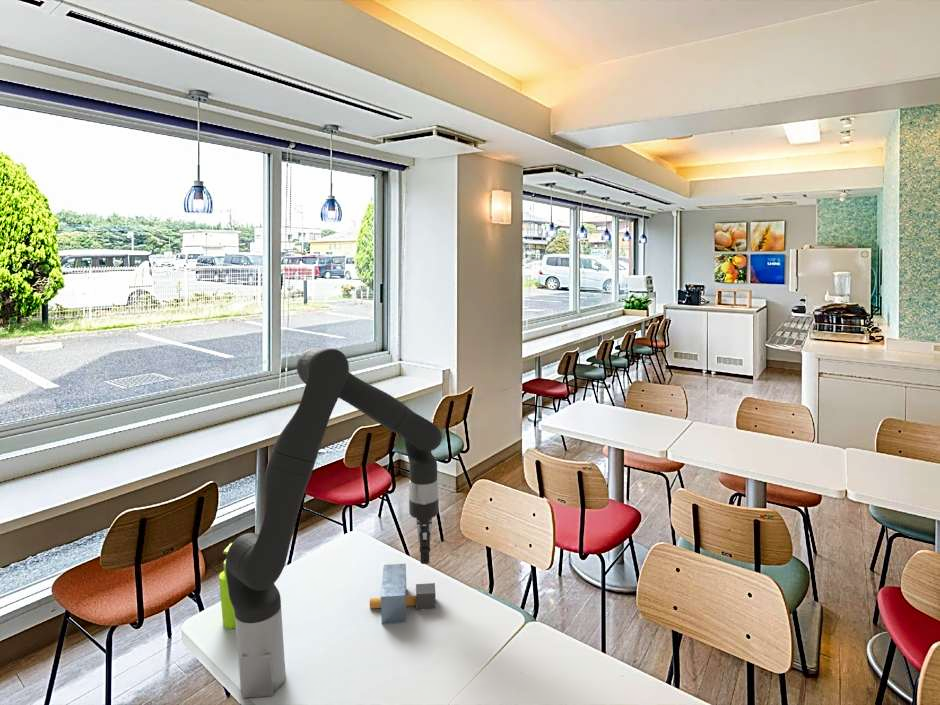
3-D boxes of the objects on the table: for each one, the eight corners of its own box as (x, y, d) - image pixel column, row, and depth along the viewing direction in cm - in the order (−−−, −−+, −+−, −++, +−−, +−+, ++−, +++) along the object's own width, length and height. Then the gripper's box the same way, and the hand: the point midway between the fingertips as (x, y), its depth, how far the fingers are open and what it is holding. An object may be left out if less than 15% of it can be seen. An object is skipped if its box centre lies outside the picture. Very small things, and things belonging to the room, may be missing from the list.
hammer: (435, 608, 148) (435, 593, 148) (369, 612, 147) (369, 597, 146) (435, 598, 153) (434, 583, 152) (370, 602, 151) (370, 586, 150)
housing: (405, 622, 143) (405, 595, 142) (381, 623, 142) (380, 596, 141) (406, 588, 157) (405, 563, 156) (384, 589, 157) (383, 564, 155)
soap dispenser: (254, 612, 147) (248, 540, 143) (241, 629, 140) (235, 555, 137) (232, 610, 148) (226, 539, 144) (218, 628, 141) (211, 553, 137)
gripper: (409, 485, 152) (410, 543, 155) (408, 509, 138) (410, 573, 141) (437, 483, 152) (438, 542, 156) (439, 507, 138) (440, 571, 141)
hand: (424, 556), depth 148 cm, fingers open, 5 cm apart
